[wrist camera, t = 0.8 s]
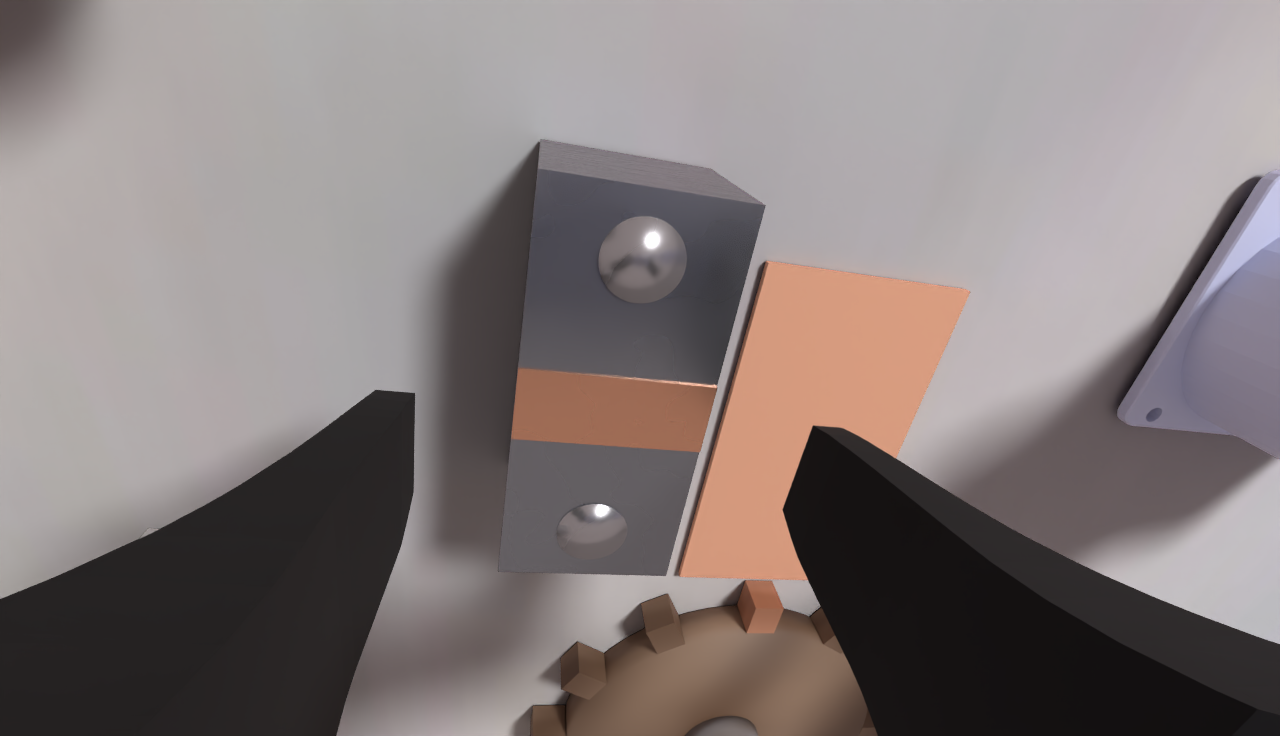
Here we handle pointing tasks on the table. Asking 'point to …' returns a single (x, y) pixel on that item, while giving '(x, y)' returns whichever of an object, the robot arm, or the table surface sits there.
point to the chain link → (618, 356)
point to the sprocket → (712, 676)
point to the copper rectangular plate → (810, 401)
